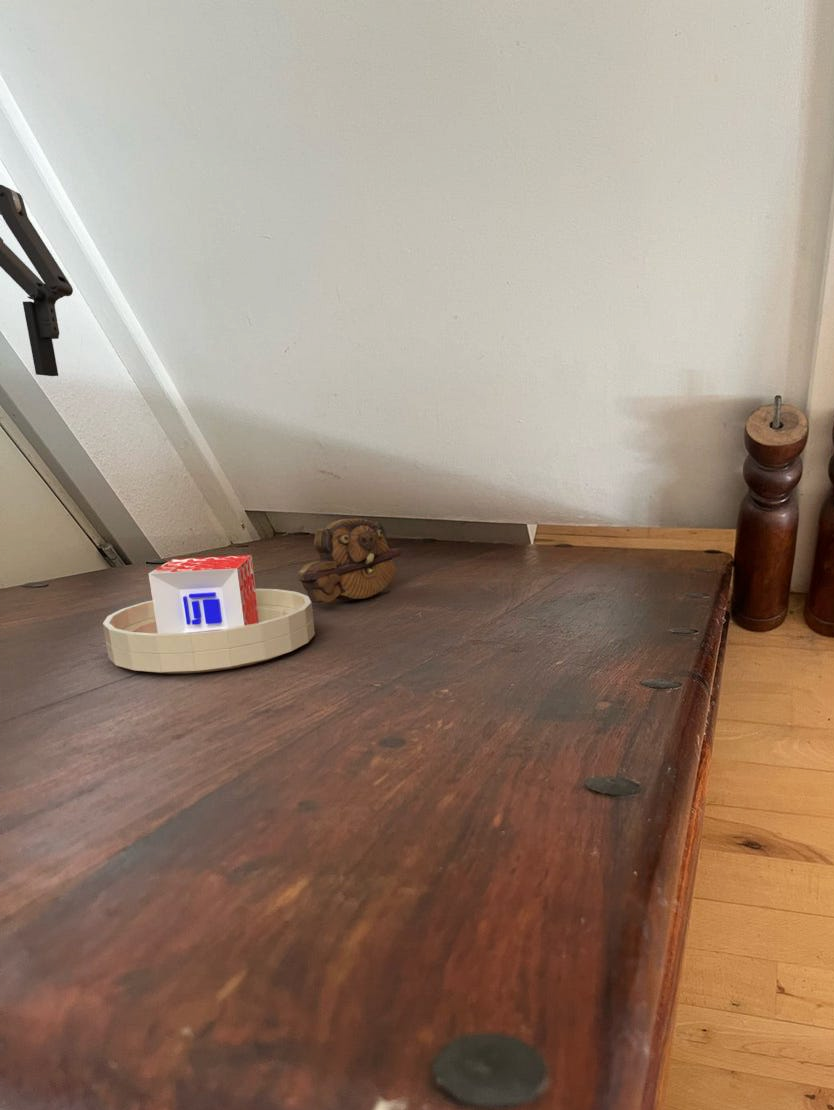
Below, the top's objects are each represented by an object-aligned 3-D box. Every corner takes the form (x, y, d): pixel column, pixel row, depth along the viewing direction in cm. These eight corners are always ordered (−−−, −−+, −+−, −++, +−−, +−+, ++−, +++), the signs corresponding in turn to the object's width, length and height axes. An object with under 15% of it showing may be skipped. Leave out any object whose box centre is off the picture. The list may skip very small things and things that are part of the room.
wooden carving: (328, 616, 88) (319, 528, 85) (298, 613, 90) (289, 527, 87) (411, 588, 101) (406, 511, 99) (383, 585, 104) (377, 511, 101)
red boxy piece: (260, 629, 81) (251, 554, 79) (247, 650, 73) (237, 568, 71) (181, 635, 80) (170, 559, 78) (160, 656, 72) (147, 573, 70)
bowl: (71, 682, 68) (62, 638, 67) (160, 627, 86) (154, 592, 85) (288, 674, 67) (283, 630, 66) (330, 620, 86) (327, 585, 85)
